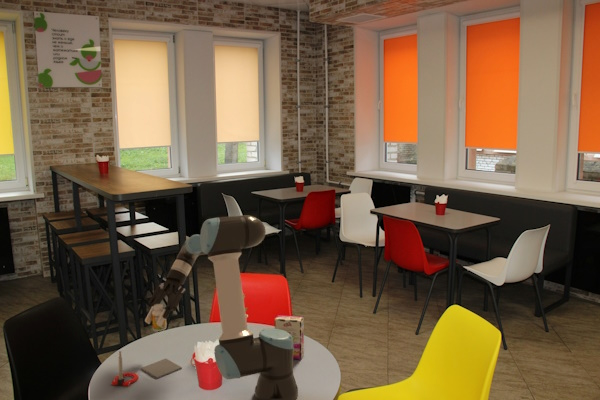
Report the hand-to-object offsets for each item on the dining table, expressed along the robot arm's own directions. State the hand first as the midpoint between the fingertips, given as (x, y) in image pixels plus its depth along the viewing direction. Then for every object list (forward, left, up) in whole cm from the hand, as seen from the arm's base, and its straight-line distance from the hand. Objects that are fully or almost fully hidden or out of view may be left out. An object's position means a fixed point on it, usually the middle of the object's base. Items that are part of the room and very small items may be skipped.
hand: (152, 323), depth 216 cm
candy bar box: (-37, -40, -15) cm, 56 cm away
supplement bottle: (+1, -4, -4) cm, 5 cm away
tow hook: (-7, +16, -16) cm, 24 cm away
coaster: (-9, +2, -15) cm, 18 cm away
